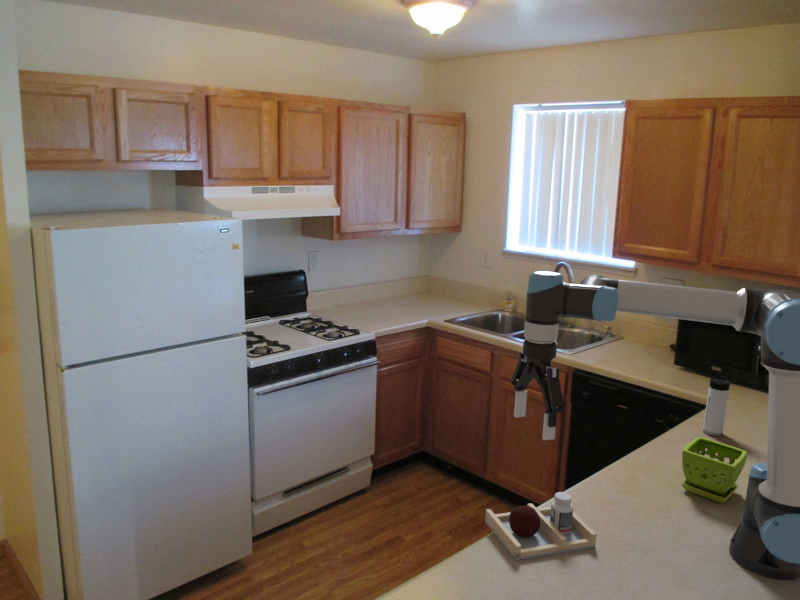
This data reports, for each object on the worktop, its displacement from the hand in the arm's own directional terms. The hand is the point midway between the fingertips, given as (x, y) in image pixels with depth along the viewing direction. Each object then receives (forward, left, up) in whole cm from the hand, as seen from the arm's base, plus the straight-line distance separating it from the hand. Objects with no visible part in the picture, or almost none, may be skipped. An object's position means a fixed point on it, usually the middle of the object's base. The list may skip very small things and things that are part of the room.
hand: (533, 427), depth 147 cm
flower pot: (+8, -63, -29) cm, 70 cm away
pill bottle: (0, -10, -28) cm, 30 cm away
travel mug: (+42, -97, -29) cm, 109 cm away
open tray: (0, -4, -28) cm, 29 cm away
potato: (0, 0, -28) cm, 28 cm away
